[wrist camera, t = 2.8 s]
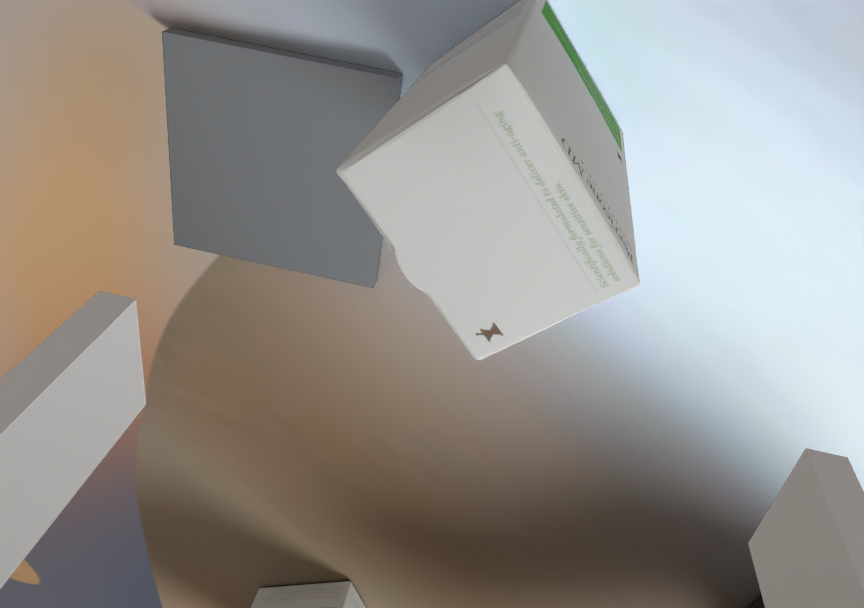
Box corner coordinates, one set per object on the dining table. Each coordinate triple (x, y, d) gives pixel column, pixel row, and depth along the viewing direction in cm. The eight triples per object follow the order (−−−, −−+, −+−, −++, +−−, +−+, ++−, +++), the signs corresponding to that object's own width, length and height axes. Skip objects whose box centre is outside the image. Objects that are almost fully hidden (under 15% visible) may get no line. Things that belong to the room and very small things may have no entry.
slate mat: (402, 73, 35) (398, 78, 34) (377, 279, 41) (373, 288, 40) (171, 27, 35) (162, 31, 35) (182, 237, 42) (174, 244, 41)
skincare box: (624, 133, 34) (657, 293, 21) (509, 198, 37) (476, 375, 24) (537, -22, 32) (513, 53, 18) (419, 60, 34) (325, 177, 21)
